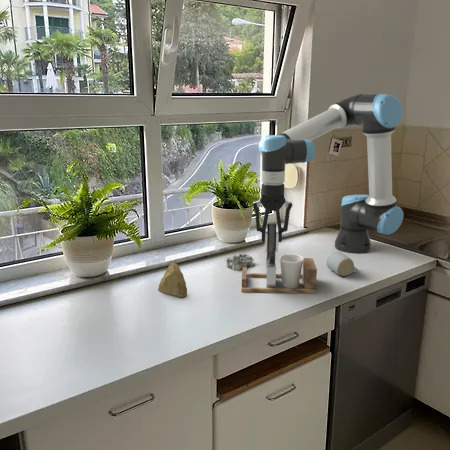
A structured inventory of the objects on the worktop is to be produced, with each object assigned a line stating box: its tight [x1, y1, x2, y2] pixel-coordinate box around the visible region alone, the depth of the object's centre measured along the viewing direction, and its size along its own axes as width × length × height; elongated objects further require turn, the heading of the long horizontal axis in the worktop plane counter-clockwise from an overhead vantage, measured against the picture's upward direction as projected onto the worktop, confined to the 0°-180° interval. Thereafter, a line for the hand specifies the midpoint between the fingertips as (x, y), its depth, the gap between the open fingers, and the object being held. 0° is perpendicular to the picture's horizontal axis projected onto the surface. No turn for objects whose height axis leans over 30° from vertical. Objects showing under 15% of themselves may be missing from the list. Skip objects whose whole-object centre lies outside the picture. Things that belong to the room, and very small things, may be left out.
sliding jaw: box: [265, 222, 277, 288], centre depth 159 cm, size 3×10×22 cm, turn 177°
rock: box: [157, 261, 188, 298], centre depth 154 cm, size 11×9×10 cm
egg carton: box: [224, 252, 256, 271], centre depth 180 cm, size 11×8×4 cm
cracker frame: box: [241, 257, 318, 294], centre depth 161 cm, size 25×14×8 cm, turn 87°
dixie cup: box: [278, 253, 305, 289], centre depth 160 cm, size 8×8×10 cm
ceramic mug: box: [326, 250, 358, 277], centre depth 171 cm, size 11×8×8 cm
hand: (271, 250), depth 159 cm, fingers closed on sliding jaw, 3 cm apart
